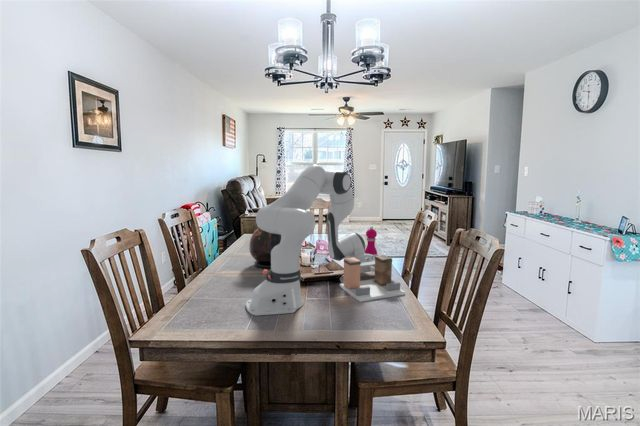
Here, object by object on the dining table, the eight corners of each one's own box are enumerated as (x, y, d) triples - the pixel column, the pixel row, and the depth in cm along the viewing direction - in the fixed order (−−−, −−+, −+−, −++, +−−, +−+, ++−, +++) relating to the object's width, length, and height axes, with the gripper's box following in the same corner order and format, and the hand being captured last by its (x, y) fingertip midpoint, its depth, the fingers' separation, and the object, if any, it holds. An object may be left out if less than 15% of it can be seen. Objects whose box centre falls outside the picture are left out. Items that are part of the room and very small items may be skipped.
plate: (359, 301, 144) (359, 291, 143) (339, 286, 161) (339, 277, 161) (405, 294, 152) (405, 285, 152) (381, 280, 170) (381, 271, 169)
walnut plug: (381, 285, 158) (382, 259, 156) (374, 281, 164) (375, 256, 162) (391, 284, 160) (392, 258, 158) (383, 280, 166) (384, 255, 164)
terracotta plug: (349, 288, 154) (350, 262, 152) (343, 284, 160) (343, 258, 158) (360, 287, 156) (360, 260, 154) (353, 282, 162) (354, 257, 160)
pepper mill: (376, 263, 197) (377, 228, 194) (363, 262, 199) (364, 227, 196) (377, 259, 204) (378, 225, 201) (364, 259, 206) (365, 225, 203)
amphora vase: (297, 266, 190) (296, 215, 186) (260, 274, 178) (258, 218, 174) (278, 257, 208) (277, 210, 203) (243, 263, 196) (242, 213, 191)
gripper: (345, 258, 172) (359, 266, 160) (382, 254, 180) (398, 261, 167) (345, 270, 173) (359, 279, 160) (381, 266, 181) (397, 274, 168)
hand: (379, 270), depth 164 cm, fingers closed, pressing on walnut plug
